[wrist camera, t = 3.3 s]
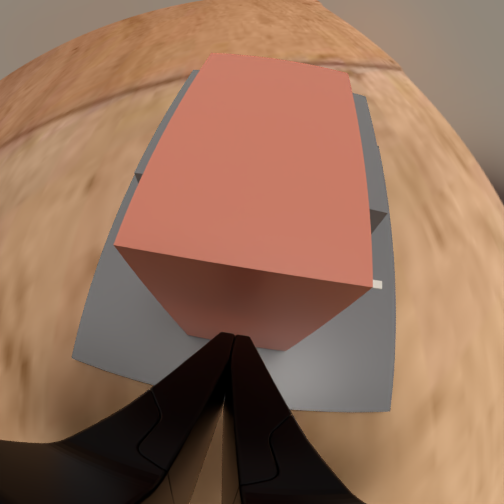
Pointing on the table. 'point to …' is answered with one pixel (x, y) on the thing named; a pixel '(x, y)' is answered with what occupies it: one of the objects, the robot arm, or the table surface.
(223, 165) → the plug
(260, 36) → the table surface
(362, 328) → the socket dock
